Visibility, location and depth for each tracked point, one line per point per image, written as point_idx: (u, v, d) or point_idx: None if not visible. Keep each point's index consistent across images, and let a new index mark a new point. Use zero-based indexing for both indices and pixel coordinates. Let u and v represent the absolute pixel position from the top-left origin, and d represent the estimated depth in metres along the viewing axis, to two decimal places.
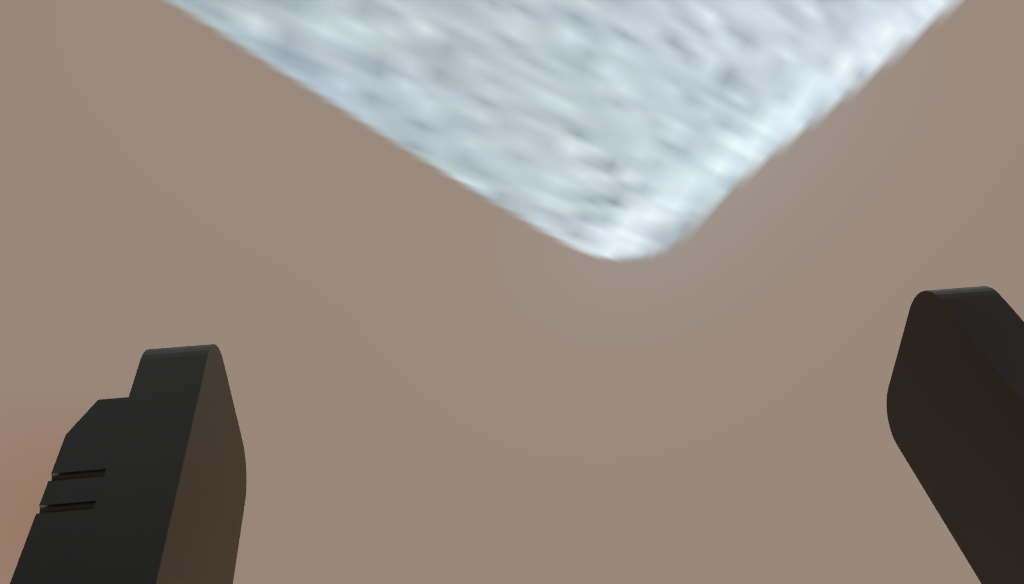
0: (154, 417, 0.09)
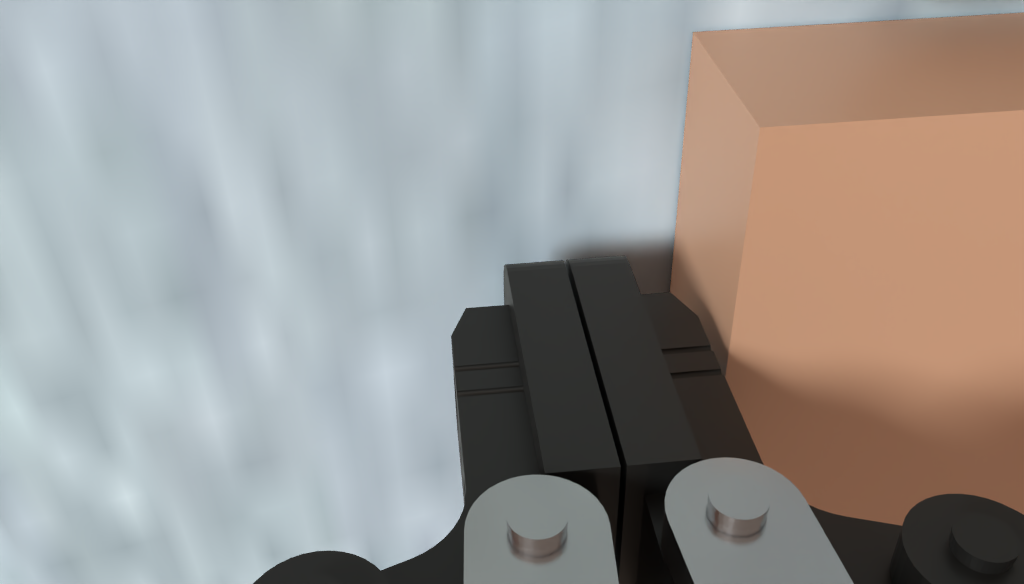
0: (543, 317, 0.11)
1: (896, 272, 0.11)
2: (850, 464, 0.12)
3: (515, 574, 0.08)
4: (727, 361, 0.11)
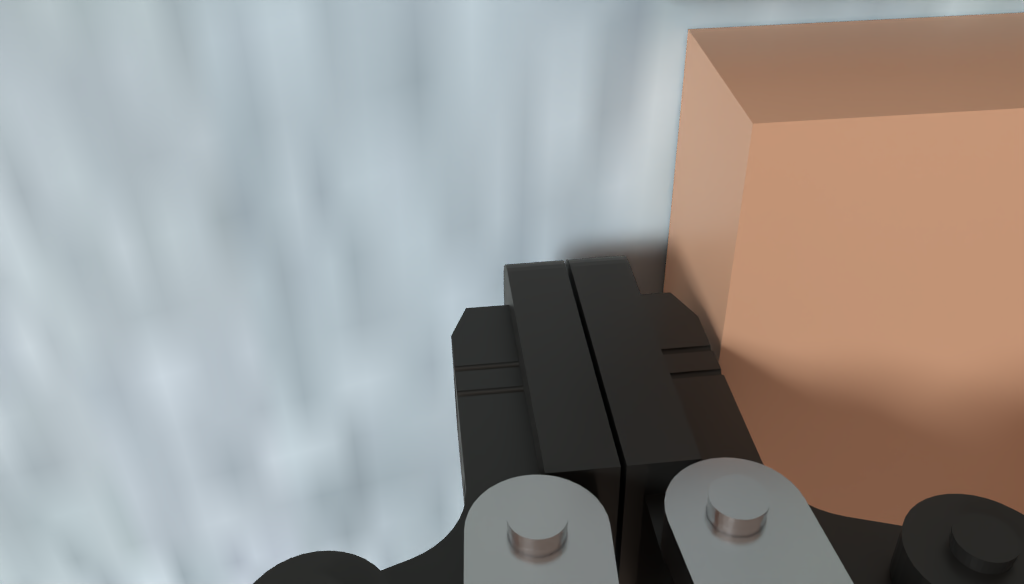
0: (543, 317, 0.11)
1: (887, 269, 0.11)
2: (842, 460, 0.12)
3: (515, 574, 0.08)
4: (719, 356, 0.11)
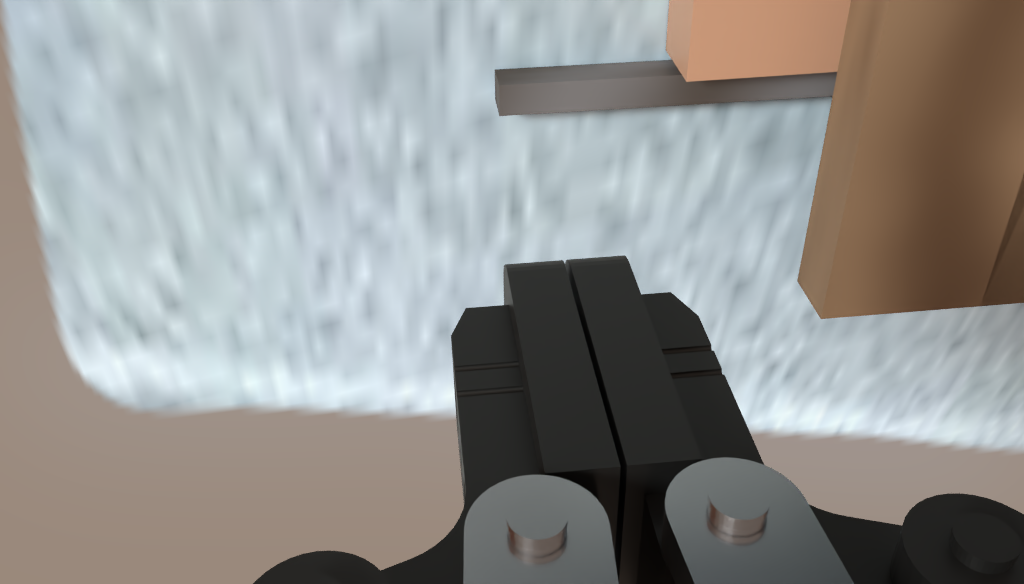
0: (543, 316, 0.11)
1: None
2: (754, 1, 0.28)
3: (515, 574, 0.08)
4: None
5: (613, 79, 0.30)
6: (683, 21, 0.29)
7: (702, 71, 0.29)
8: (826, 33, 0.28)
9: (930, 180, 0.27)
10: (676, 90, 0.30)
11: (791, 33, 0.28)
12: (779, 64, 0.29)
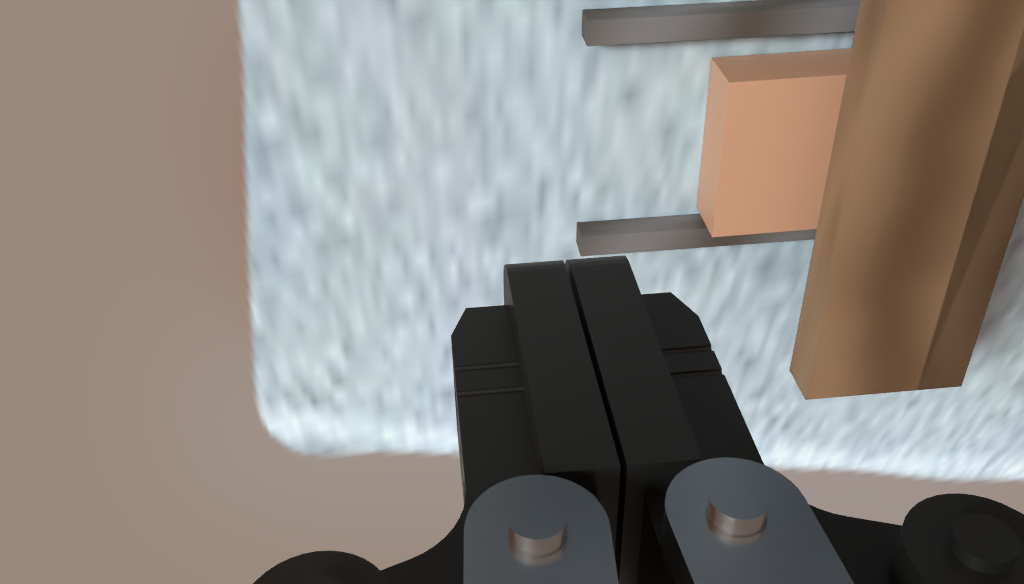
0: (543, 317, 0.11)
1: (767, 123, 0.39)
2: (759, 186, 0.41)
3: (515, 574, 0.08)
4: (721, 150, 0.39)
5: (660, 231, 0.43)
6: (710, 196, 0.42)
7: (723, 230, 0.42)
8: (808, 205, 0.41)
9: (877, 311, 0.40)
10: (704, 237, 0.43)
11: (784, 206, 0.41)
12: (776, 225, 0.42)
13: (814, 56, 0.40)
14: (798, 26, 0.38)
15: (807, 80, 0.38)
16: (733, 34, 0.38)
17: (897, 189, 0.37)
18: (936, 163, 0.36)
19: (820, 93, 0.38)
